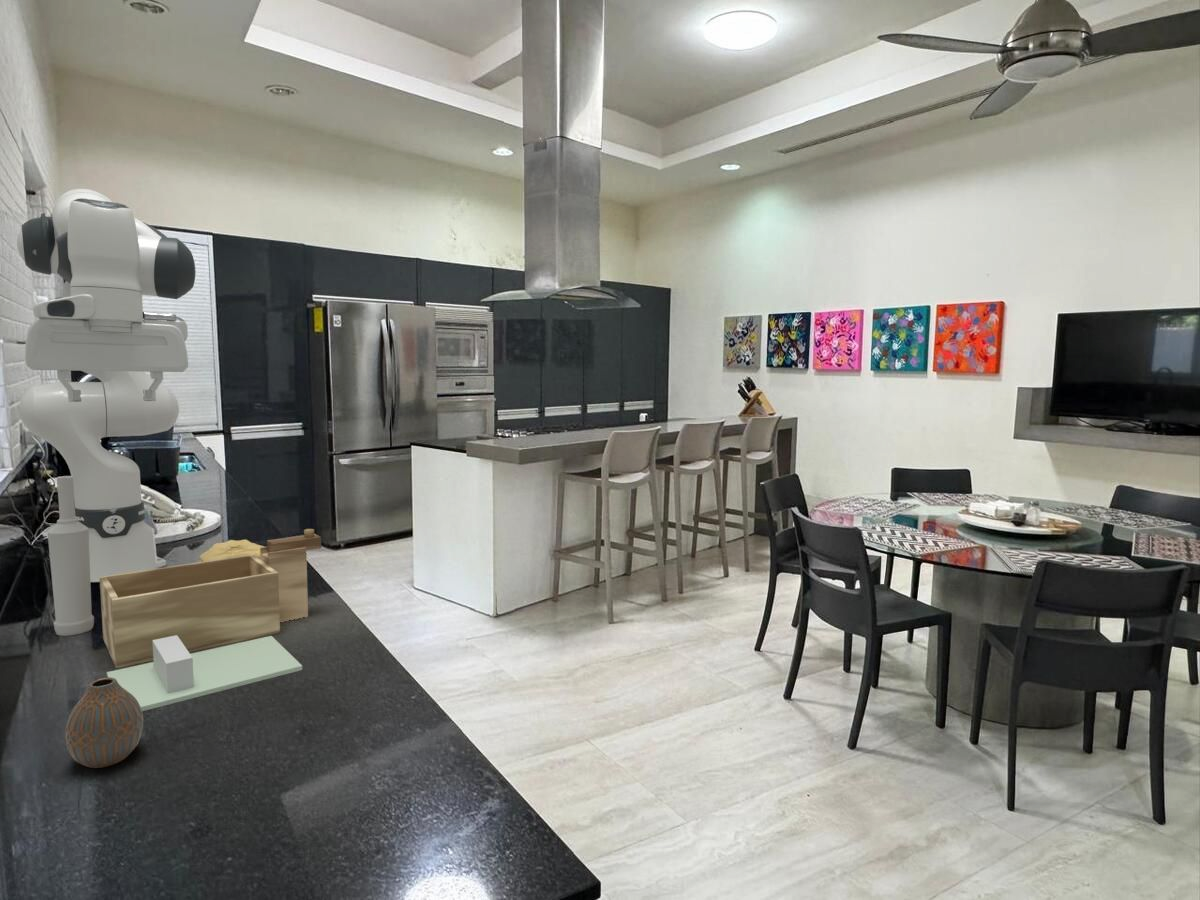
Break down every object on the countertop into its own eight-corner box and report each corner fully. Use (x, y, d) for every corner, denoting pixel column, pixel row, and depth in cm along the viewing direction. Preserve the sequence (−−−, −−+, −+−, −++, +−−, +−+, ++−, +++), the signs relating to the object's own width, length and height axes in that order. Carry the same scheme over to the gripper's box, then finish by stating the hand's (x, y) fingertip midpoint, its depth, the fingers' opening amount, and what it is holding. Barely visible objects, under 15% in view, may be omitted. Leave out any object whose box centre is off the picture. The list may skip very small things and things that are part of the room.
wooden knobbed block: (267, 551, 118) (266, 533, 117) (315, 544, 123) (314, 527, 123) (272, 555, 116) (272, 536, 115) (321, 548, 121) (320, 530, 121)
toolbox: (103, 638, 108) (98, 563, 107) (289, 602, 127) (287, 537, 125) (116, 668, 98) (111, 585, 96) (317, 624, 116) (315, 553, 115)
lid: (107, 680, 95) (104, 644, 95) (271, 642, 110) (270, 611, 109) (122, 721, 85) (120, 680, 84) (302, 673, 99) (301, 638, 98)
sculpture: (206, 611, 121) (203, 551, 120) (191, 594, 130) (188, 538, 129) (275, 598, 129) (273, 542, 127) (256, 582, 138) (255, 529, 136)
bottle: (72, 637, 108) (62, 480, 105) (45, 634, 109) (35, 478, 106) (102, 626, 113) (93, 475, 110) (76, 623, 114) (67, 473, 111)
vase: (159, 748, 78) (155, 674, 77) (97, 782, 71) (92, 701, 70) (115, 736, 80) (111, 664, 79) (51, 768, 74) (46, 690, 73)
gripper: (182, 315, 113) (186, 399, 115) (20, 305, 100) (27, 401, 101) (191, 313, 109) (195, 401, 110) (22, 303, 95) (29, 403, 97)
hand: (113, 401), depth 106 cm, fingers open, 8 cm apart
